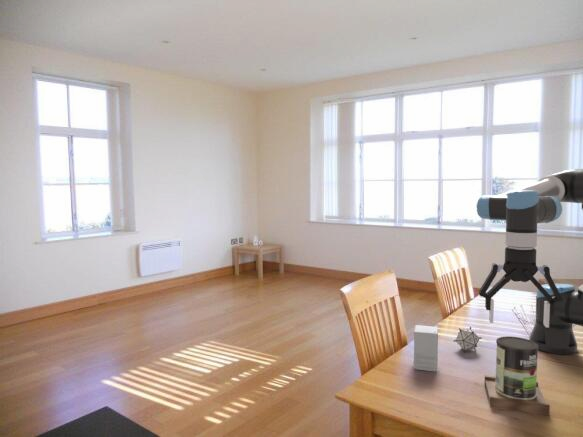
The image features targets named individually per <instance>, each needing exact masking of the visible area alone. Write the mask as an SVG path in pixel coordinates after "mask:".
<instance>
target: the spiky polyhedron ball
mask: <svg viewBox="0 0 583 437" xmlns="http://www.w3.org/2000/svg"><path fill="white" fill-rule="evenodd" d="M458 330H459V332H458V334H457V336H456V337H455V338H456V339H454V340H453V342H456V343H457V344H458V345H459V346H460V347H461V348H462V350H463V353H466V351H470V350H474V351H477V349H476V348H477V347H478V343H479V342H480V340H481V339H482V337H481V336H480V337H479V336H478V334H476V333H475V331H473V330H472V327H471V326H470V327H469V328H466V329H461V328H460V327H459V328H458Z"/></svg>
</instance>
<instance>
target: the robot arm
mask: <svg viewBox="0 0 583 437" xmlns="http://www.w3.org/2000/svg"><path fill="white" fill-rule="evenodd" d="M562 203H575V204H581V210H582V211H583V168H575V169H574V168H573V169H567V170H563V171H558V172H556V173H553V174H549V175H546V176H544V177H542V178H540V179H539V180H538V181H537V182H534V183H530V184H527V185H525V186H522V187H519V188H516V189H512V190H509V191H507V192H504V193H499V194H496V195H495V194H494V195H493V194H489V195H488V194H487V195H486V194H485V195H482V196H480V197H479V199H477V203H476V213H477V215H478V216H479V218H481V219H483V220H484V219H485V220H489V221H492V220H493V221H505V242H504V244H505V246H506V247H505V248H504V263H503V264H498V263H496V262H493V263H492V264H491V268H490V269H491V270H490V271H489V274H488V275H487V277H486V278H485V280H484V282H483V283H482V284H481V287H480V289H479V290H478V294H479V297H483V298H484V299H485V300H484V301H485V303H484V304H485V306H484V307H485V309H486V311H488V313H489V314H488V321H489V323H491V324H494V312H495V311H494V309H495V308H494V307H495V306H494V305H495V304H494V303H495V300H494V296H495V295H496V294H497V293H499V291H500V290H502V288H503V287H504V286H505V285H506V284H508V283H510V281H513V282H522V283H527V282H529V281H531V283H532V284H533V285H534V286H535V288H536V294H535V321H534V322H535V323H534V326H533V328H532V331H531V332H530V335H529V338H528V340H530V341H533V342H535V343H536V344H537V345H538V351H541V352H545V353H550V354H557V355H573V354H575V353H577V352H578V343H577V342H578V341H577V339H576V336H575V333H574V330H573V326H574V325H575V326H580V327H583V284H581V285H579V286H578V287H577V290H576V288H575V286H574V285H573V284H568V283H555V282H554V280H553V278H552V276H551V272H550V267H549V266H548V265H546V264H543V265H541V266H540V265H539V266H537V248H536V247H537V245H538V244H537V242H538V241H537V240H538V224H548V223H551V222H555V221H556V220H558V219H559V218H560V217H561V215H562V212H563V205H562ZM501 270H503V271H504V273H505V274H504V275H503V276H502V277H501V278H500V279H499V280H498V281H497V282H496V283H495V284H494V285H493V286H492V287H491V285H492V283H493V281H494V279H495V278H496V276H497V273H500V272H501ZM538 272H539V273H540V274H541V275H543V277H544V279H545V281H546V283H547V284H546V283H545V284H541V283H540V282H539V281H538V280H537V279H536V278H535V275H536V274H537V273H538ZM489 287H491V288H490V289H489ZM488 289H489V290H488Z"/></svg>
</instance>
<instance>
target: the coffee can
mask: <svg viewBox="0 0 583 437" xmlns="http://www.w3.org/2000/svg"><path fill="white" fill-rule="evenodd" d="M495 342H496V357H495V358H496V360H495V377H496V383H495V390H496V391H497V392H498V393H499V394H501V395H503V396H505V397H507V398H513V399H521V400H533V399H534V398H535V397H536V382H537V376H538V375H537V374H538V351H539V350H538V345H537V344H536V343H535V342H533V341H530V340H529V338H528V339H527V338H522V337H520V336H500V337H497V338H496V341H495Z"/></svg>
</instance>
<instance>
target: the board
mask: <svg viewBox="0 0 583 437" xmlns="http://www.w3.org/2000/svg"><path fill="white" fill-rule="evenodd" d="M495 383H496V375H495V376H493V375H484V388H485V391H486V392H485V393H486V396H487V400H488V404H489V407H490V408H494V409H501V410H507V411H508V410H509V411H513V412H521V411H523V412H522V413H528V412H529V414H536V415H542V416H548V415H549V416H550V408H551V406H550V403H548V401H546V399H545V398H546V397H545V396H544V394H543V392H542V390H541V388H540V387H539V382H538V381H536V397H535V398H534V399H533V400H521V399H513V398H507V397H505V396H503V395H501V394H499V393H498V392H497V391H496V390H495Z"/></svg>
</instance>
